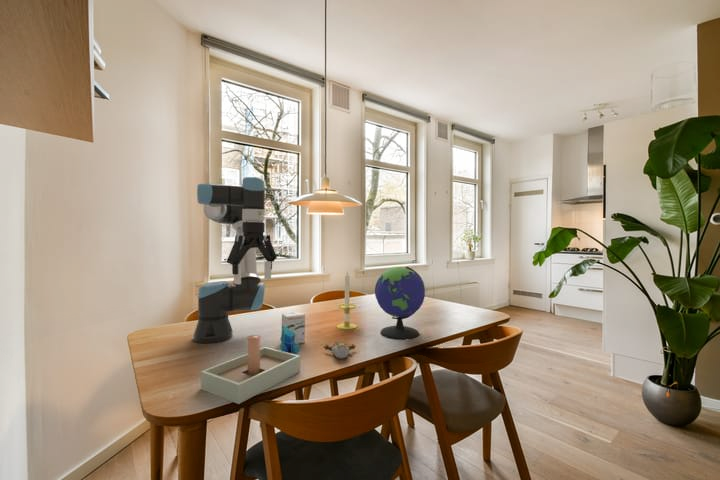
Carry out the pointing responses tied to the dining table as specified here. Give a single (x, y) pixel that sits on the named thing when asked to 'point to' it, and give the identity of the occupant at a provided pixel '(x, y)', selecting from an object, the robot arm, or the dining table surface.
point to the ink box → (295, 325)
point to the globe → (400, 299)
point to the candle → (346, 308)
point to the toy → (340, 349)
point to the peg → (253, 355)
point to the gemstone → (288, 341)
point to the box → (239, 385)
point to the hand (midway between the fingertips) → (253, 281)
